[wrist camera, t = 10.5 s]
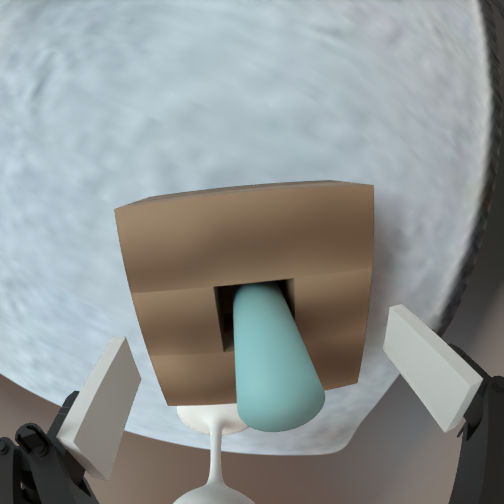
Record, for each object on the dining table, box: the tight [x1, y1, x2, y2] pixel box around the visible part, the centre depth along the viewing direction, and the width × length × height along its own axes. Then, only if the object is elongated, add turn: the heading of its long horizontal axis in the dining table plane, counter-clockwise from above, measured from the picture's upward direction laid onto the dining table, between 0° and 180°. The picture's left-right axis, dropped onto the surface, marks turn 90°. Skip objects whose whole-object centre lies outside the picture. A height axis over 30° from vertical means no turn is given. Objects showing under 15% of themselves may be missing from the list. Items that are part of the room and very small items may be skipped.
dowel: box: [232, 280, 325, 432], centre depth 15 cm, size 3×3×12 cm
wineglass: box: [173, 403, 255, 504], centre depth 16 cm, size 9×9×21 cm
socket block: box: [114, 180, 374, 406], centre depth 19 cm, size 14×14×7 cm
